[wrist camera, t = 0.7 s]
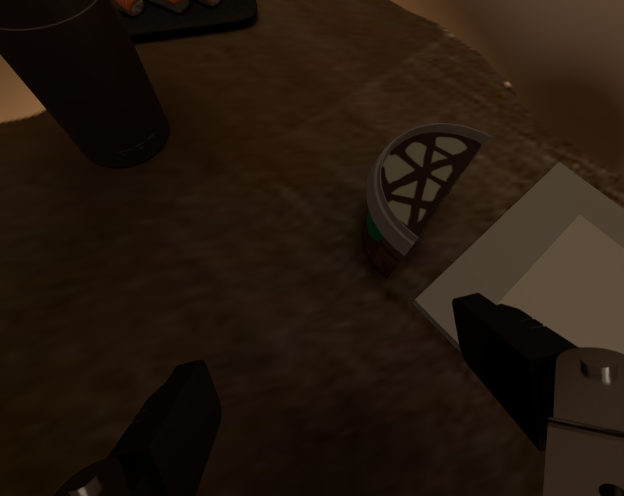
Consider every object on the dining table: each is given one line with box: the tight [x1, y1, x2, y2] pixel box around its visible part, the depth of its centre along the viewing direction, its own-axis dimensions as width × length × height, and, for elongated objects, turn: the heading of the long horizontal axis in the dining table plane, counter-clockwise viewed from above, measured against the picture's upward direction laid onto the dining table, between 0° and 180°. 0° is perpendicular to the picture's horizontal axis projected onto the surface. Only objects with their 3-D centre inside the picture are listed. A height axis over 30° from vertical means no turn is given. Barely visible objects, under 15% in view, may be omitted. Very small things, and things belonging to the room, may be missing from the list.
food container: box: [363, 123, 490, 278], centre depth 29 cm, size 12×6×10 cm, turn 143°
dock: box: [411, 162, 624, 354], centre depth 31 cm, size 20×24×1 cm
